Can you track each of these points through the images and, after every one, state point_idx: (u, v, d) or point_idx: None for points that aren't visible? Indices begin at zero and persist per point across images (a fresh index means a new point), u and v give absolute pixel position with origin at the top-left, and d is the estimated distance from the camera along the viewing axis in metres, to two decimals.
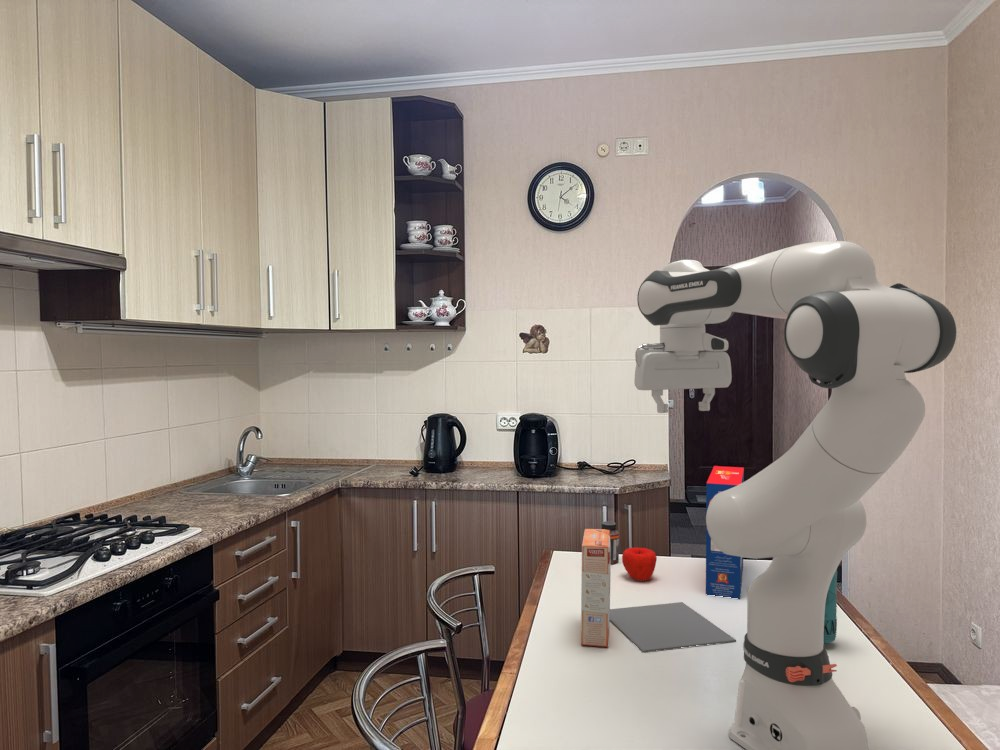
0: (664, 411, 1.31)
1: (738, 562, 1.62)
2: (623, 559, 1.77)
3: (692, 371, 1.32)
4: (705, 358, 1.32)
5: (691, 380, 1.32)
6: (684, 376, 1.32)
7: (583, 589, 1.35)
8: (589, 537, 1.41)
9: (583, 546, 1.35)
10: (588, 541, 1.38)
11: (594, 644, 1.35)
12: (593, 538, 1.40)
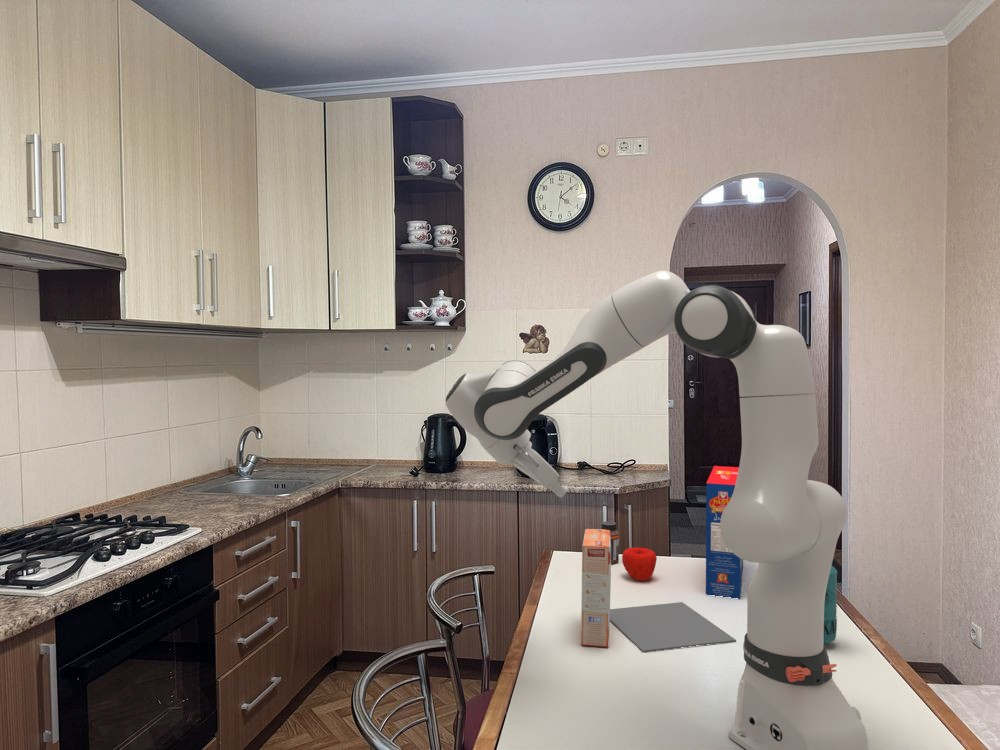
0: None
1: (738, 562, 1.62)
2: (623, 559, 1.77)
3: None
4: None
5: None
6: None
7: (583, 589, 1.35)
8: (589, 537, 1.41)
9: (583, 546, 1.35)
10: (589, 541, 1.38)
11: (594, 644, 1.35)
12: (593, 538, 1.40)
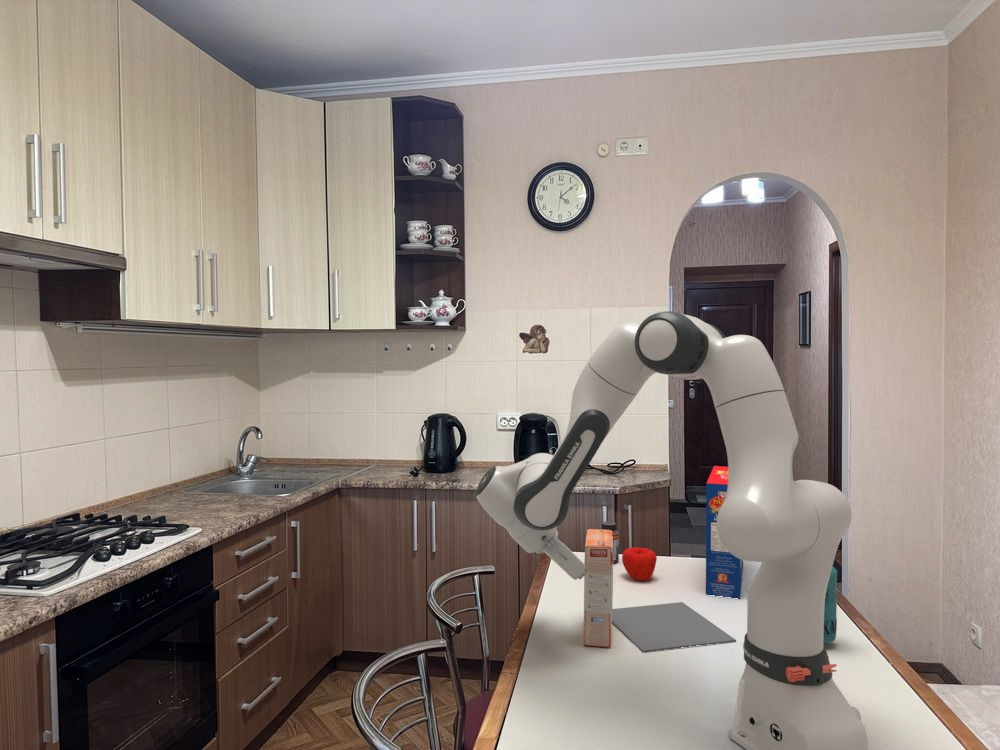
0: None
1: (738, 562, 1.62)
2: (623, 559, 1.77)
3: None
4: None
5: None
6: None
7: (586, 589, 1.35)
8: (592, 537, 1.41)
9: (586, 546, 1.35)
10: (591, 541, 1.38)
11: (596, 644, 1.35)
12: (596, 538, 1.40)
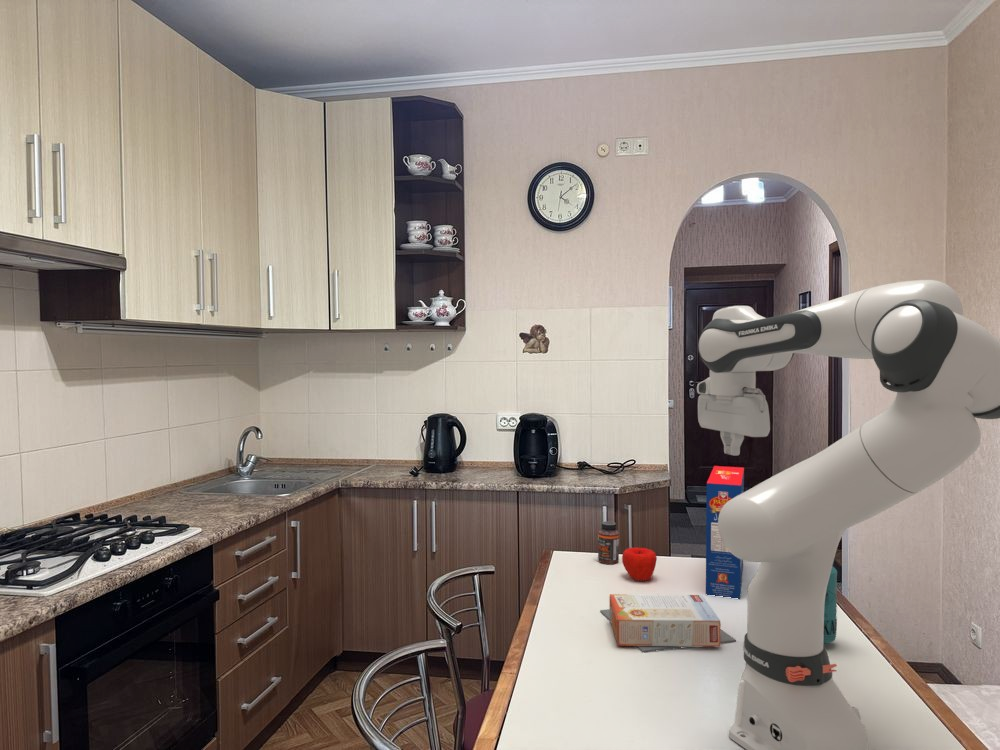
0: None
1: (738, 562, 1.62)
2: (623, 559, 1.77)
3: None
4: None
5: None
6: None
7: (675, 621, 1.34)
8: None
9: (719, 621, 1.34)
10: None
11: (619, 632, 1.35)
12: None
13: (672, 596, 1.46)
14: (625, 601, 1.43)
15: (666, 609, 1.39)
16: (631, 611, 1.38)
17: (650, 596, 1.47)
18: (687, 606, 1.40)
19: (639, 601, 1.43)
